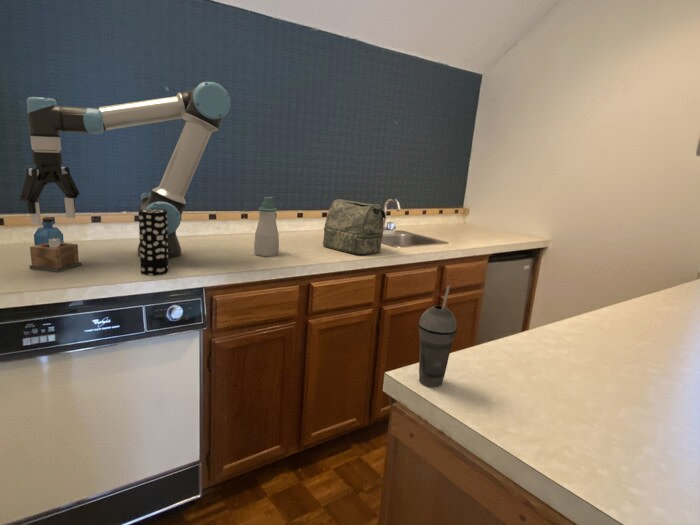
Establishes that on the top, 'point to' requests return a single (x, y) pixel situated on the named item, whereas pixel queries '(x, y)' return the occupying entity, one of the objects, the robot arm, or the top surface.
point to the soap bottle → (267, 230)
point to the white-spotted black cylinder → (153, 241)
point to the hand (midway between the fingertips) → (54, 221)
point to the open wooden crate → (54, 255)
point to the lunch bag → (354, 227)
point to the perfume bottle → (47, 232)
